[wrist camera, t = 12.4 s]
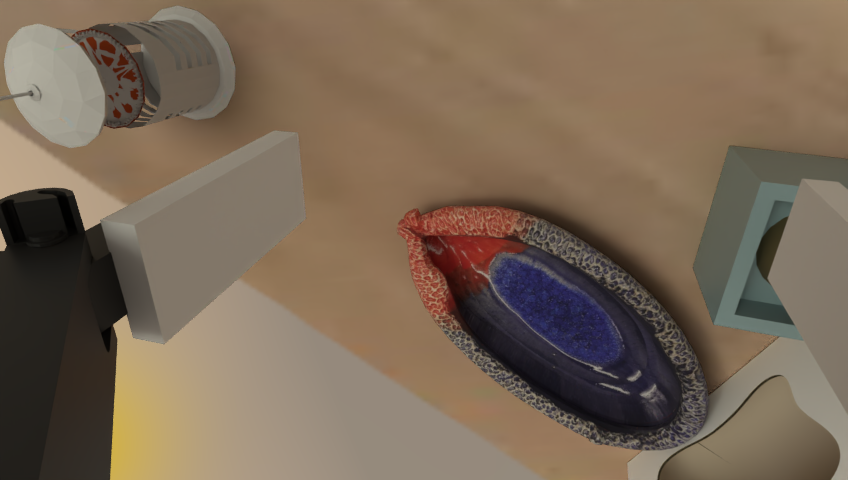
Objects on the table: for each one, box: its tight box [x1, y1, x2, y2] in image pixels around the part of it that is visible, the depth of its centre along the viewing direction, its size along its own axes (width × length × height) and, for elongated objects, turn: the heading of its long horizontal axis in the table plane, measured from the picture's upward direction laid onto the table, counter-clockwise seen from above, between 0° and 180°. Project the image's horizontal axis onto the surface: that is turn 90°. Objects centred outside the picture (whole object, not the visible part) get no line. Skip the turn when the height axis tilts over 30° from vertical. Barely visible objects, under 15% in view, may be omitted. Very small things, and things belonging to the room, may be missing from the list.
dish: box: [397, 206, 709, 451], centre depth 46 cm, size 16×31×5 cm, turn 53°
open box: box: [693, 146, 848, 341], centre depth 36 cm, size 10×10×8 cm
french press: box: [0, 6, 236, 148], centre depth 38 cm, size 10×12×25 cm
